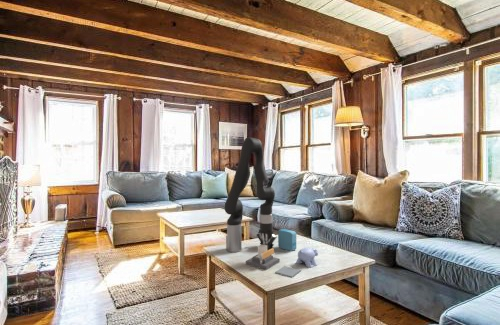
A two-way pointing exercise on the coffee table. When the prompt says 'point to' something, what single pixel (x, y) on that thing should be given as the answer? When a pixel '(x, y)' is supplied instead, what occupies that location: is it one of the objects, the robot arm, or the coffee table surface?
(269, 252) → the orange rod with knob
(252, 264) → the socket block
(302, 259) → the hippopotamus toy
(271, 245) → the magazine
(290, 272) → the mat
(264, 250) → the plug
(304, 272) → the coffee table surface
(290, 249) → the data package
